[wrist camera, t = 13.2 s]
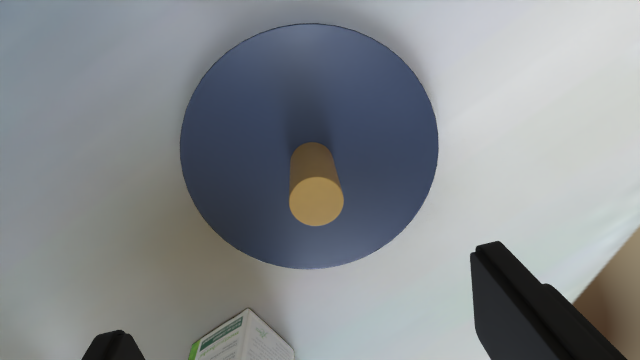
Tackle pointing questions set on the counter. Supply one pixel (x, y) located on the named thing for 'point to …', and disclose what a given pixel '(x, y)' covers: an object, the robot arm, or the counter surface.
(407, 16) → the counter surface
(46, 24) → the counter surface
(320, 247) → the lid
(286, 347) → the syrup box
